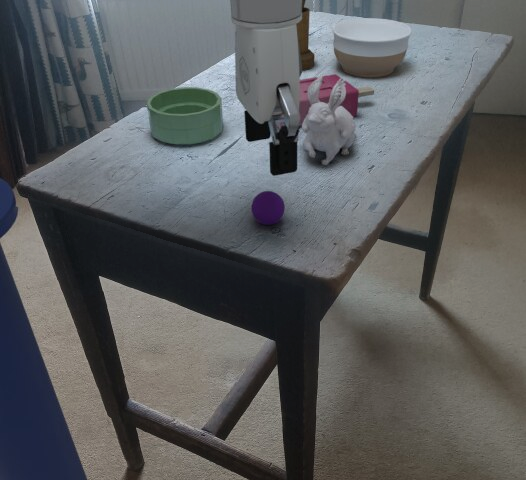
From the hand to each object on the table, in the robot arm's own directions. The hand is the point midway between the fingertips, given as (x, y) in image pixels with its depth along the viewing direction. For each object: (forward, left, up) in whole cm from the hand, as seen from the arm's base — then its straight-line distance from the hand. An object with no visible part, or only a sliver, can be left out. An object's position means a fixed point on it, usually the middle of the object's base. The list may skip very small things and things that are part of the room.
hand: (270, 155), depth 72 cm
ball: (0, 0, -8) cm, 8 cm away
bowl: (+39, +50, -10) cm, 64 cm away
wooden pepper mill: (+26, +57, -10) cm, 63 cm away
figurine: (+16, +17, -10) cm, 25 cm away
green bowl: (-4, +32, -10) cm, 34 cm away
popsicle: (+21, +32, -10) cm, 39 cm away
